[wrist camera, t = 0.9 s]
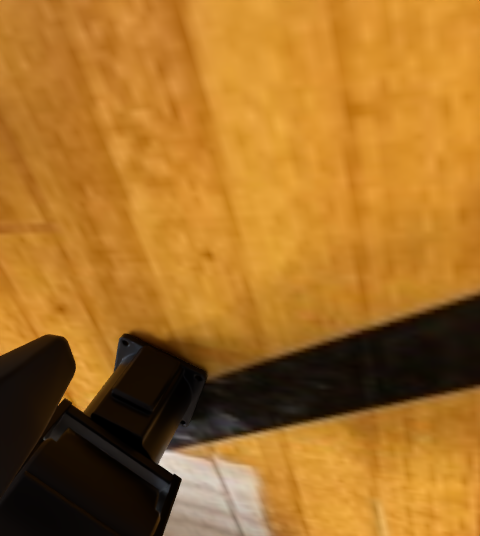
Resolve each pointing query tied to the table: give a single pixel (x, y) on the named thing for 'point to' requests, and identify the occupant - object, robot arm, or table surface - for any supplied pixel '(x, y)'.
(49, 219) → the table surface
